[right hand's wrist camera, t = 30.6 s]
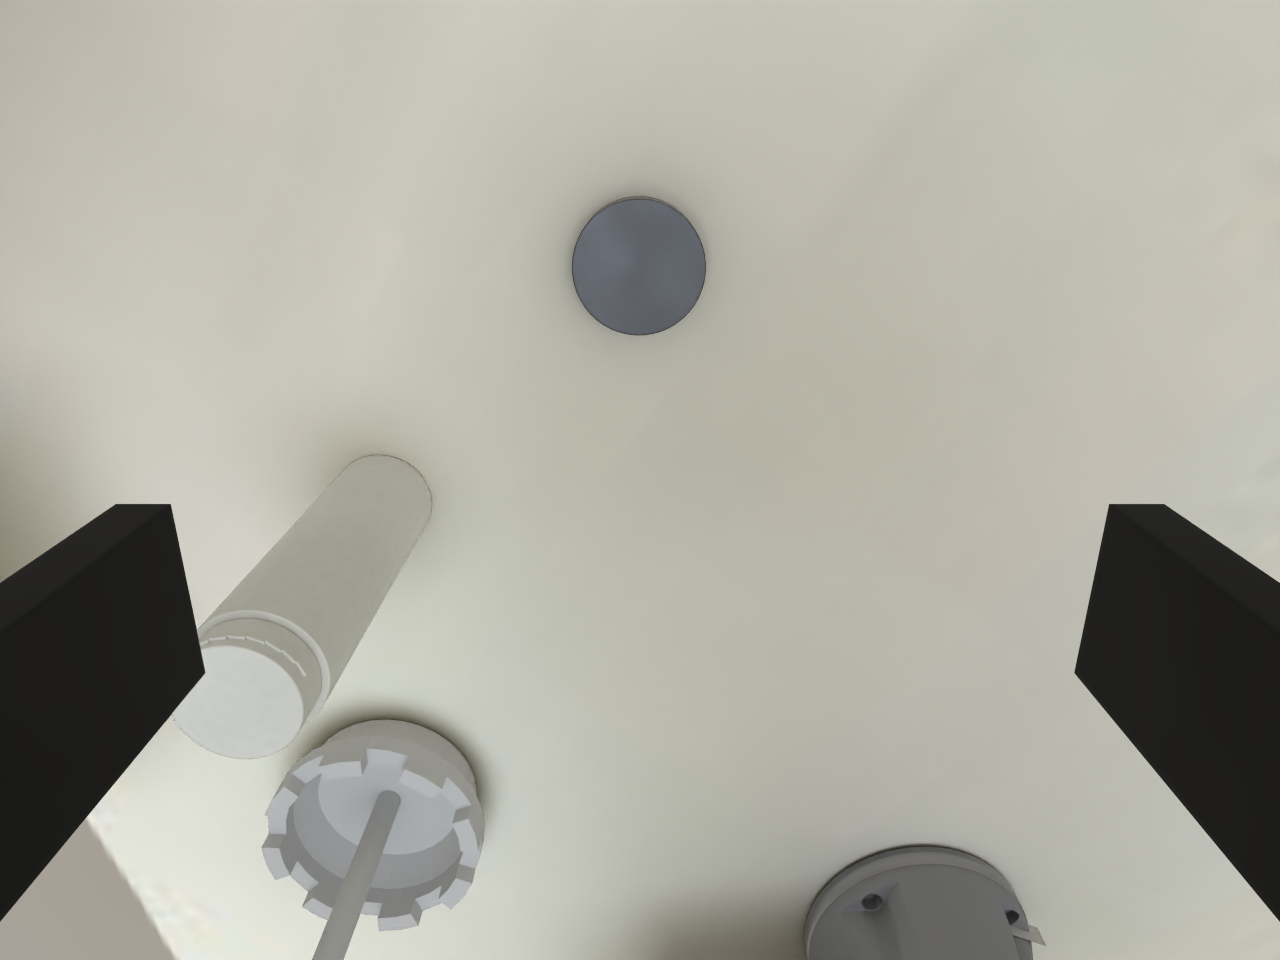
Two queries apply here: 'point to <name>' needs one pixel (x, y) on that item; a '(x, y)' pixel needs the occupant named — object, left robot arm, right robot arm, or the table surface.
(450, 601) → the table surface
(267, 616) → the jar
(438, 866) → the flag stand
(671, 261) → the lid
